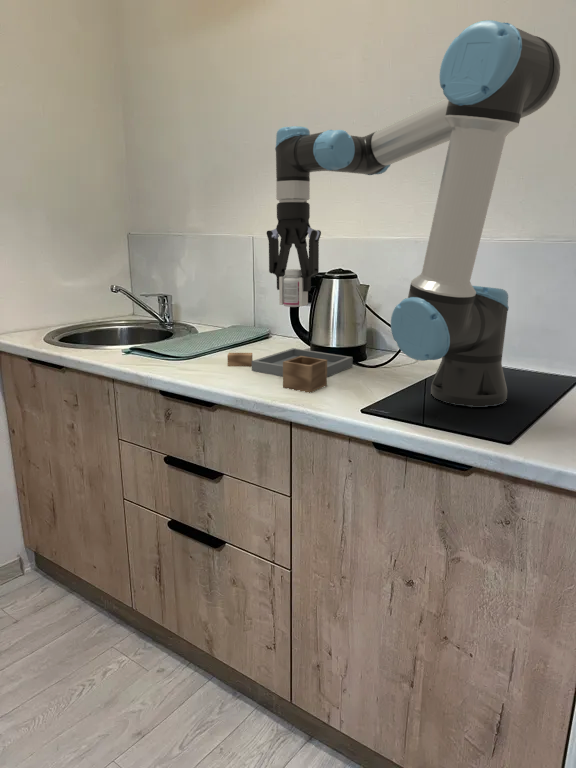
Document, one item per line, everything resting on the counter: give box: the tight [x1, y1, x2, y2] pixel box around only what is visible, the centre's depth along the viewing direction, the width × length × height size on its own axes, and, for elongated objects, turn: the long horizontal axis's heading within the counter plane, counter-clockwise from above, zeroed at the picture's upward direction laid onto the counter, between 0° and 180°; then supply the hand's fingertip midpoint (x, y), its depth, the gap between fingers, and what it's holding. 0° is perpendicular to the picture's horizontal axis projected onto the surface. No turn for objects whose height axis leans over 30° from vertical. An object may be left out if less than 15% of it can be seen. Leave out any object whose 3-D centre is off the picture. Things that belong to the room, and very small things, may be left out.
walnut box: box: [282, 356, 328, 394], centre depth 126 cm, size 7×7×6 cm
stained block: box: [227, 352, 253, 367], centre depth 145 cm, size 6×3×3 cm, turn 89°
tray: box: [251, 347, 354, 378], centre depth 141 cm, size 18×18×2 cm
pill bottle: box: [283, 268, 302, 308], centre depth 135 cm, size 5×5×8 cm
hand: (293, 304), depth 136 cm, fingers closed on pill bottle, 5 cm apart
